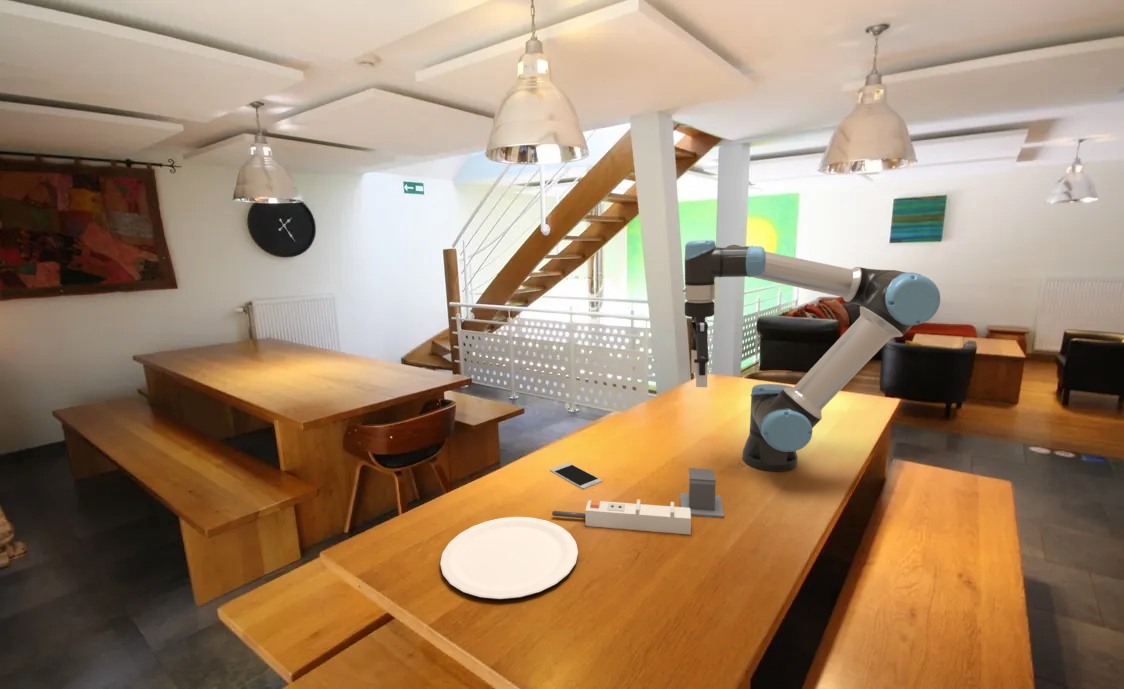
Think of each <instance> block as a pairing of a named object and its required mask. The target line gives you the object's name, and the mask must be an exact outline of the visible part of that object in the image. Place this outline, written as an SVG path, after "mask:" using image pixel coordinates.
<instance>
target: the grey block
mask: <svg viewBox="0 0 1124 689" xmlns="http://www.w3.org/2000/svg"><path fill="white" fill-rule="evenodd" d="M716 484H717V482H716V476H715V470H714V469H713V468H712V469H710V468H698V467H697V468H692V467H688V494H689V496H688V498H689V508H690V509H695V510H709V511H715V495H716Z"/></svg>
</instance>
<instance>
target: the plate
mask: <svg viewBox="0 0 1124 689" xmlns="http://www.w3.org/2000/svg"><path fill="white" fill-rule="evenodd" d="M578 549H579V548H578V545H577V542H576V540H575V539H574V537H573V536H572V534H571V533H570V531H568V530H566V529H565V528H563V527H562V526H561V525H558V524H556V523H554V522H552V521H548V520H545V519H541V518H535V517H529V516H526V517H525V516H508V517H499V518H496V519H491V520H485V521H484V522H481V523H479V524H476V525H475V524H474V525H472V526H471V527H469V528H467V529H465V530H463V531H462V532H460V533H458V535H456V536H455V537H454V538H453V539H451V541H449V542H448V544H447V545H446V547H445V549H444V550H443V551H442V553H441V558H440V562H439V564H440V569H441V573H442V576H443V577H444V578H445V580H446V581H447V582H448V584H449V585H450V586H452V587H453V588H455V589H456V590H458V591H460V592H461V593H463V594H465V595H470V596H473V597H475V598H476V597H477V598H480V599H489V600H499V601H500V600H511V599H512V600H513V599H521V598H525V597H527V596H532V595H535V594H539V593H541V592H544V591H547V590H548V589H550V588H552V587H554V586H556V585H557V584H559V583H560V582H561V581H562V580H564V579H565V578H566V577H567V576H569V574H570V573H571V572H572V570H573V568H574V567H575V566H576V563H577V560H578V556H579V550H578Z"/></svg>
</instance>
